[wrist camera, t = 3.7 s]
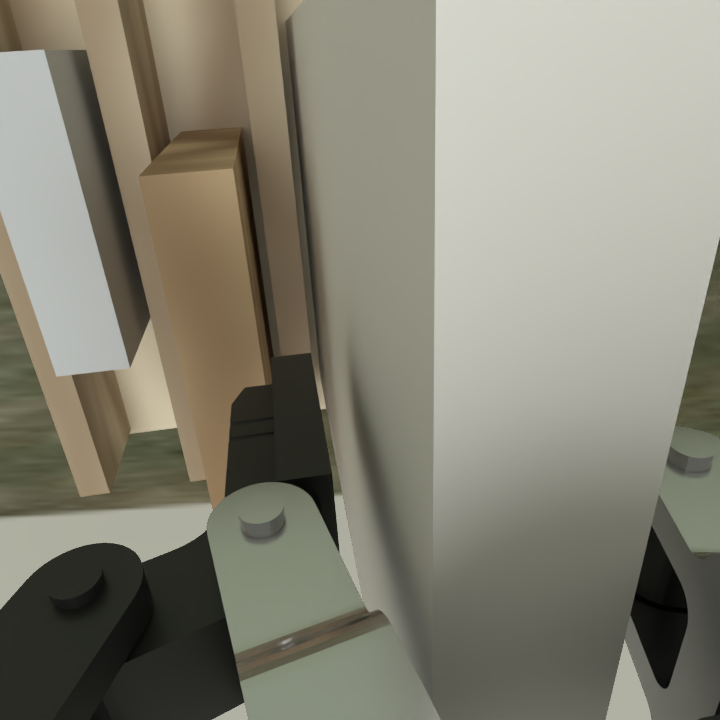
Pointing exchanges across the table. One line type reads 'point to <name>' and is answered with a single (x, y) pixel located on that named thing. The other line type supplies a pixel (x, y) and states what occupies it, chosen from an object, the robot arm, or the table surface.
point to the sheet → (506, 315)
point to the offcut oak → (210, 280)
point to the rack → (131, 157)
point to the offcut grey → (68, 212)
